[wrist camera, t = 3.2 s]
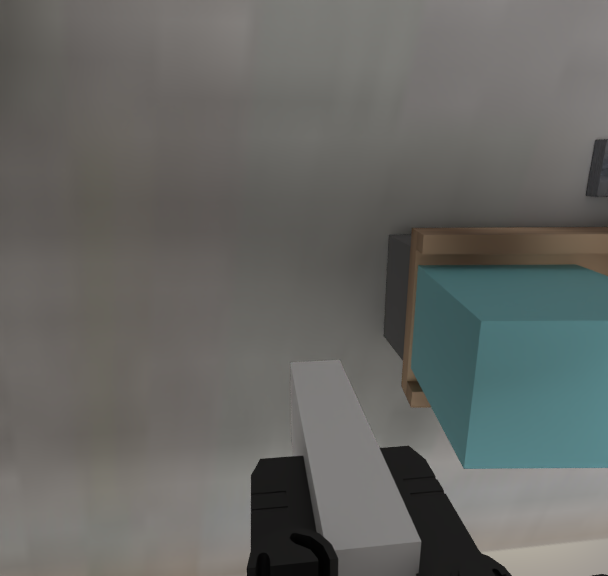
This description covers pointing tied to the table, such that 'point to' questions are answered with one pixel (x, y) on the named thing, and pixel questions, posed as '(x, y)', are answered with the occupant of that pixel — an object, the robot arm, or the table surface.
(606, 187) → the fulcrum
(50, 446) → the table surface
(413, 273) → the beam
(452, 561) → the robot arm
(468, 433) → the block
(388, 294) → the stop arm side
